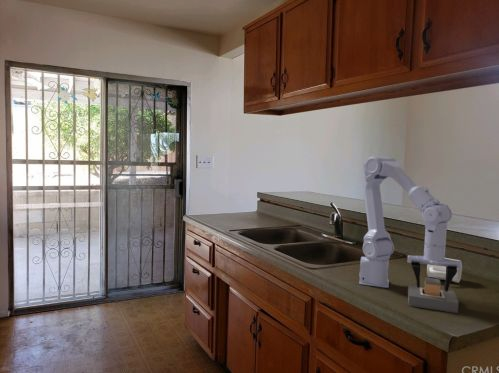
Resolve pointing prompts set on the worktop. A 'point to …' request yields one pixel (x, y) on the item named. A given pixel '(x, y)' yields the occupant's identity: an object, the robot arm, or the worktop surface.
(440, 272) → the mug
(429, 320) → the worktop surface
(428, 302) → the socket block
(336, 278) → the worktop surface
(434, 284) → the plug
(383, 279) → the robot arm
